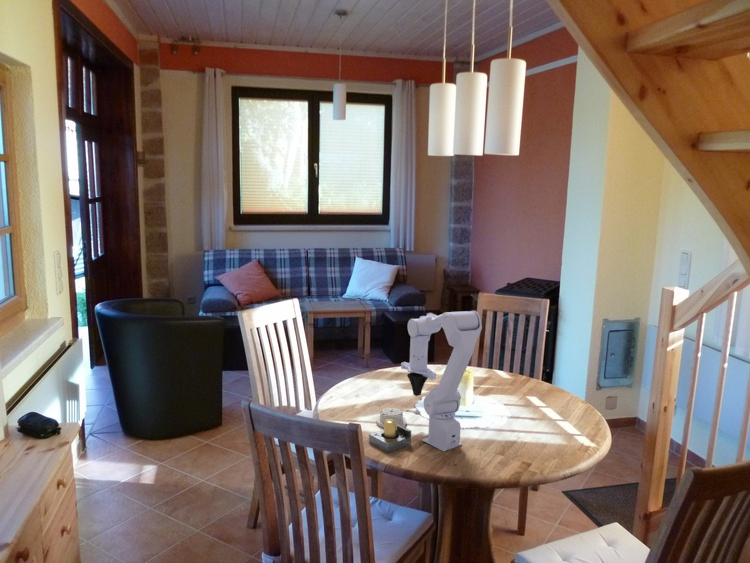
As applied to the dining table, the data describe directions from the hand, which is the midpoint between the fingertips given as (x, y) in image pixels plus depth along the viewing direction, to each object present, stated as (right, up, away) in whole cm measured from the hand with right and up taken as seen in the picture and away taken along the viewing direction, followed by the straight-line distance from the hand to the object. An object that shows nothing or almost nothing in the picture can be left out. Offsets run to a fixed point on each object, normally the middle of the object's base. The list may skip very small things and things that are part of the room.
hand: (417, 394), depth 196 cm
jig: (-9, -12, -14) cm, 21 cm away
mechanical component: (-8, -10, +1) cm, 13 cm away
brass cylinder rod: (-9, -12, -14) cm, 21 cm away
